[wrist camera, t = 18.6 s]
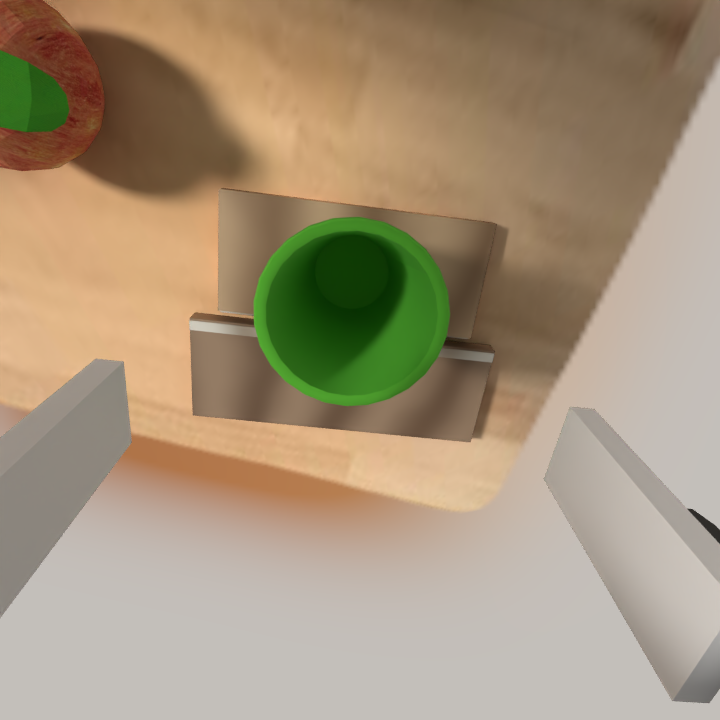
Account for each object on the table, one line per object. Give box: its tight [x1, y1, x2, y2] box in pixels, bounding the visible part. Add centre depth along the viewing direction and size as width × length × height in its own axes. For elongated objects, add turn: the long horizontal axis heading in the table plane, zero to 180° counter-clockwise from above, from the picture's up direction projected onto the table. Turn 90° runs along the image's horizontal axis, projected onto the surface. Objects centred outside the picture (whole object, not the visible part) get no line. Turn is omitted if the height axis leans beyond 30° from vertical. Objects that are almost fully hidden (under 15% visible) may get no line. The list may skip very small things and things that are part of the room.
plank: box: [218, 188, 497, 339], centre depth 32 cm, size 18×8×1 cm, turn 83°
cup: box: [254, 217, 450, 406], centre depth 26 cm, size 9×9×11 cm
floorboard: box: [189, 313, 495, 442], centre depth 35 cm, size 22×8×1 cm, turn 83°
